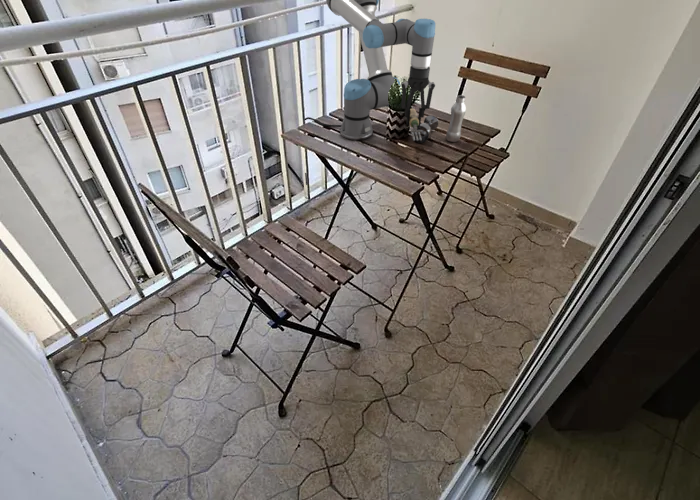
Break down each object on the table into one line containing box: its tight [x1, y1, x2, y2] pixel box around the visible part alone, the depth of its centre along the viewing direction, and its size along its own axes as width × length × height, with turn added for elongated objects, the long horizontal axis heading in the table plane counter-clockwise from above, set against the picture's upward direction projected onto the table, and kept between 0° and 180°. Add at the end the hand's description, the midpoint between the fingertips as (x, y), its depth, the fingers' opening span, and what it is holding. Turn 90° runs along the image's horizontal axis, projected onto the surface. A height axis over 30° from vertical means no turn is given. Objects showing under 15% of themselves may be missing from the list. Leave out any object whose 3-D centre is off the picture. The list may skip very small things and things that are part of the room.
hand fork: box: [409, 108, 422, 141], centre depth 161 cm, size 22×4×4 cm, turn 0°
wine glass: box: [414, 114, 439, 144], centre depth 179 cm, size 8×8×15 cm
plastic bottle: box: [445, 94, 467, 143], centre depth 172 cm, size 6×7×20 cm
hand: (413, 124), depth 164 cm, fingers closed on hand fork, 4 cm apart
